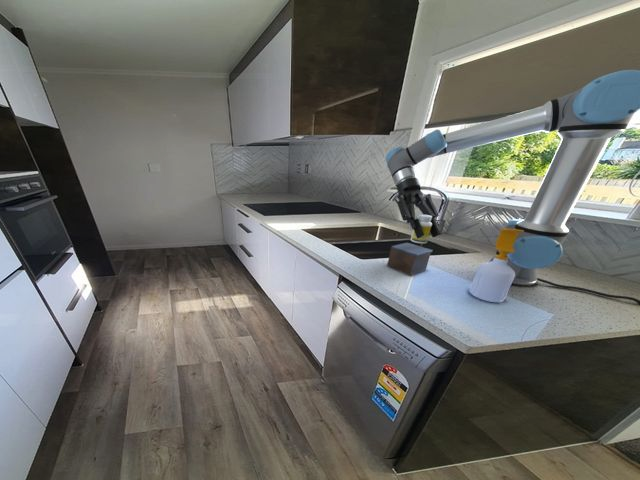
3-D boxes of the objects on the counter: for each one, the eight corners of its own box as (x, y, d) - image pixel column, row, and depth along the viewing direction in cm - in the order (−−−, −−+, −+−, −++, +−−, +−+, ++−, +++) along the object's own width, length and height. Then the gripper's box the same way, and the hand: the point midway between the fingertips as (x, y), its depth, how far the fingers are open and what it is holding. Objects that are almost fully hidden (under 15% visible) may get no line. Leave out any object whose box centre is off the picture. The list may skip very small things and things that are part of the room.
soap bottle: (470, 298, 83) (497, 229, 74) (467, 286, 90) (491, 222, 81) (506, 306, 79) (539, 234, 69) (500, 293, 86) (529, 226, 76)
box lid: (432, 251, 100) (432, 250, 99) (416, 256, 95) (417, 254, 95) (406, 243, 109) (406, 242, 108) (391, 247, 104) (391, 246, 104)
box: (425, 270, 103) (431, 251, 100) (410, 275, 99) (415, 256, 96) (402, 261, 112) (406, 243, 109) (386, 266, 108) (391, 247, 104)
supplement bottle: (429, 244, 87) (437, 217, 84) (413, 243, 88) (420, 217, 84) (423, 239, 92) (430, 214, 88) (407, 238, 93) (413, 213, 89)
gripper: (421, 188, 99) (443, 239, 90) (379, 189, 97) (398, 242, 88) (435, 175, 92) (461, 229, 83) (390, 177, 90) (412, 232, 81)
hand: (428, 235), depth 86 cm, fingers closed on supplement bottle, 5 cm apart
